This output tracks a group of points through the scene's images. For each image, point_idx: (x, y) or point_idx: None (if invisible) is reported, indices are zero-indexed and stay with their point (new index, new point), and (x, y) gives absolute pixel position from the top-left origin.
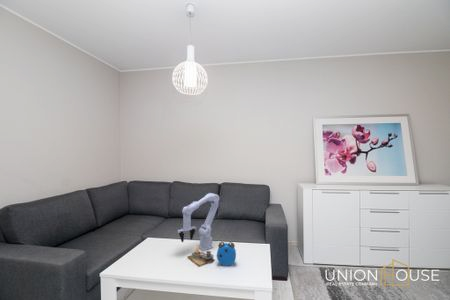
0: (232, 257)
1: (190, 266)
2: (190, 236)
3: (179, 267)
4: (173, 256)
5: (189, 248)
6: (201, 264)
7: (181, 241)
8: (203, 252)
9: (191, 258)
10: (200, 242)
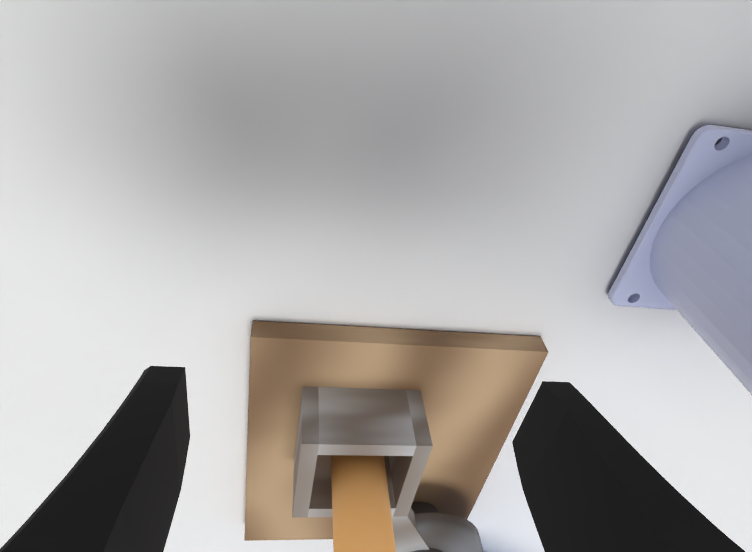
0: None
1: None
2: (582, 470)
3: (18, 444)
4: (19, 101)
5: (561, 14)
6: (280, 538)
7: (145, 377)
8: (530, 378)
9: (265, 411)
10: (744, 289)
